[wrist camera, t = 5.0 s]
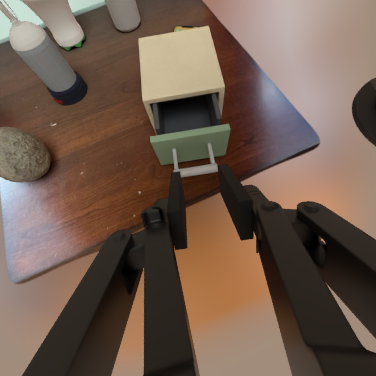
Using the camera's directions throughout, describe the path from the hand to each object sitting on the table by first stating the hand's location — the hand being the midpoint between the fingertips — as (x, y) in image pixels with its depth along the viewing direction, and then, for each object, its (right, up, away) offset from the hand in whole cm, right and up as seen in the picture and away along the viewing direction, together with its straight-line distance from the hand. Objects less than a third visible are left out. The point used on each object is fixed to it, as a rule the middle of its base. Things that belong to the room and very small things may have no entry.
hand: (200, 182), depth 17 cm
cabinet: (-2, +19, +26) cm, 33 cm away
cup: (-34, +41, +37) cm, 65 cm away
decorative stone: (-32, +4, +24) cm, 40 cm away
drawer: (-1, +9, +22) cm, 24 cm away
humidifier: (-30, +23, +31) cm, 49 cm away
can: (-18, +46, +38) cm, 62 cm away
